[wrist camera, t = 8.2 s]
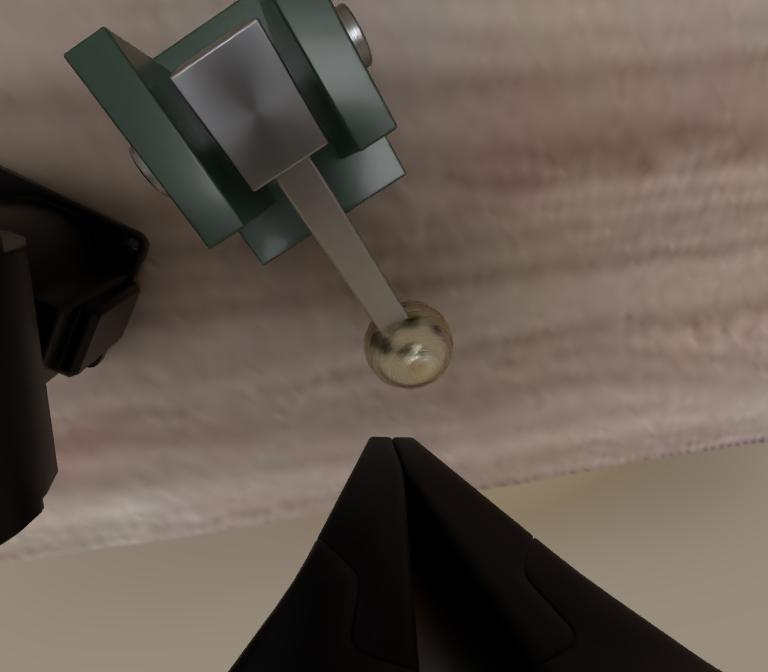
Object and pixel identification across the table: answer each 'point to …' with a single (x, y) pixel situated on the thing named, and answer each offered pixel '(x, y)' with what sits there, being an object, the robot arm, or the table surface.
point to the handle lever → (306, 190)
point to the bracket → (202, 154)
